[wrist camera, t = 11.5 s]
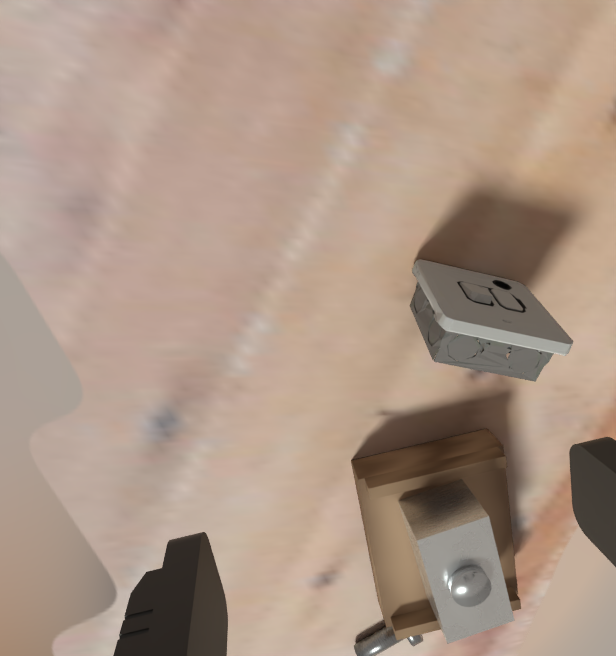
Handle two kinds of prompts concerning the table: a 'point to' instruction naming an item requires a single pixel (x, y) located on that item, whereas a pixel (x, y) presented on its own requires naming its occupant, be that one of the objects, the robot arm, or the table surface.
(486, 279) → the electrical switch
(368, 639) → the bolt
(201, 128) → the table surface
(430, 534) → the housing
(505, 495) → the brown wooden tray
